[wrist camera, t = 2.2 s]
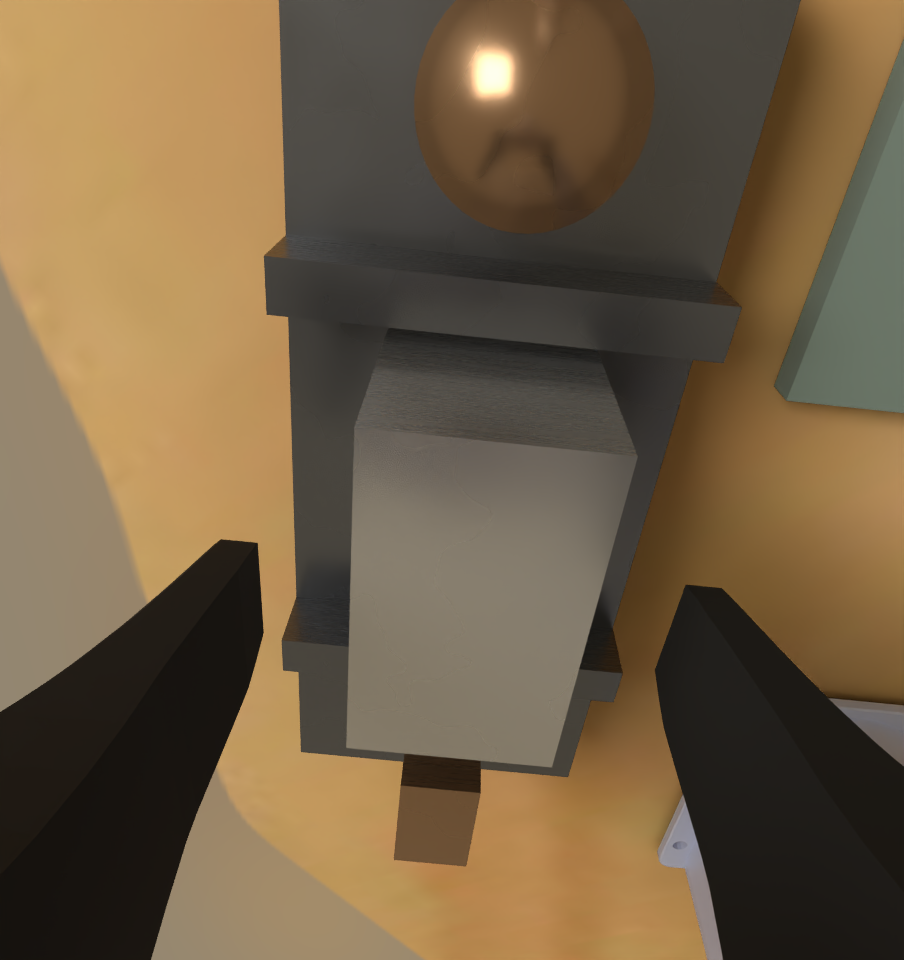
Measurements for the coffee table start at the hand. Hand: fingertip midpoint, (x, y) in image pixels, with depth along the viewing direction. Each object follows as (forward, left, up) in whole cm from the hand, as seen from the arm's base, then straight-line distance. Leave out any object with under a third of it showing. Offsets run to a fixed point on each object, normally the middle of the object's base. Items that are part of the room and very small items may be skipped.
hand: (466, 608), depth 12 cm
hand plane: (0, 0, -7) cm, 7 cm away
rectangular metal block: (0, 0, -4) cm, 4 cm away
